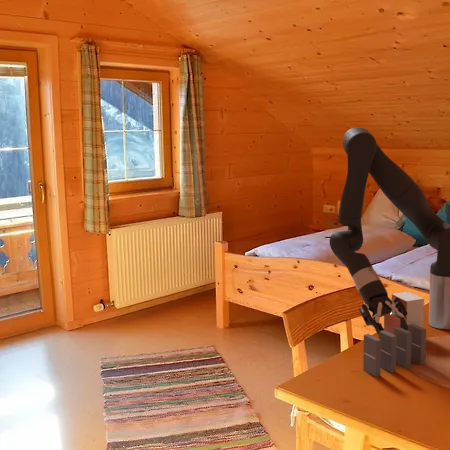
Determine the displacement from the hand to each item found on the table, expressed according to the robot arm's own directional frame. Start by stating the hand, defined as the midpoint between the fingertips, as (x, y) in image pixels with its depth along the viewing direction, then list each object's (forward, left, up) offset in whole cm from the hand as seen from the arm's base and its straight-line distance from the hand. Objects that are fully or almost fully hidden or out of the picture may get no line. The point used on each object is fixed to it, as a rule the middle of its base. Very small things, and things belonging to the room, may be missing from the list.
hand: (395, 333), depth 167 cm
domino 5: (+7, +4, -5) cm, 10 cm away
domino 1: (+15, -9, -5) cm, 18 cm away
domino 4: (+10, 0, -5) cm, 11 cm away
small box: (-11, +6, -5) cm, 14 cm away
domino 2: (-1, -1, -5) cm, 5 cm away
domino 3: (+13, -5, -5) cm, 14 cm away
